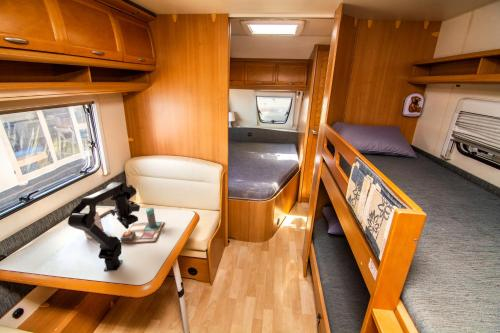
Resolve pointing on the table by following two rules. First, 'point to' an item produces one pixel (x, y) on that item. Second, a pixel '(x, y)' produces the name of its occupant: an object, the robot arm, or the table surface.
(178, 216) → the table surface
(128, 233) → the button
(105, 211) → the washcloth
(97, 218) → the ink cartridge box
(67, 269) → the table surface
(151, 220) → the teal rubber stamp
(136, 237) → the colouring board
